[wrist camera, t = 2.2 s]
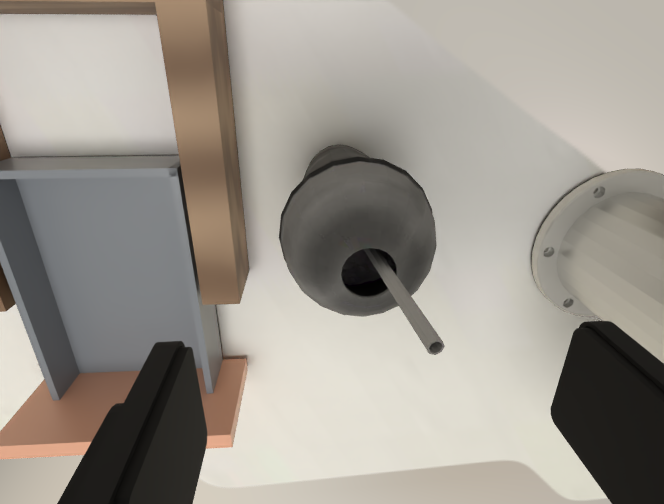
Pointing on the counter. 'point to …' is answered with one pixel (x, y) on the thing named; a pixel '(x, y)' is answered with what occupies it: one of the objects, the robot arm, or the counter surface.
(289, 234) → the beverage cup
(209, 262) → the housing
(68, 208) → the tray
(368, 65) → the counter surface
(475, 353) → the counter surface
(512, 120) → the counter surface
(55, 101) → the counter surface
